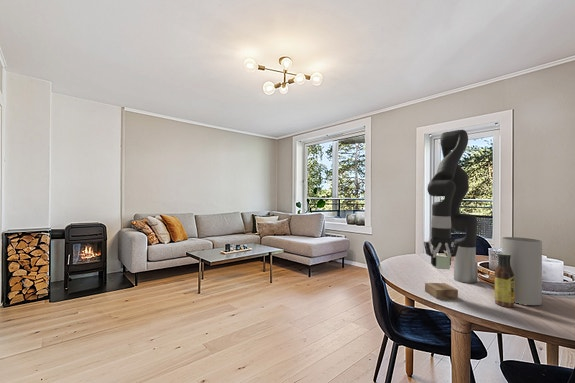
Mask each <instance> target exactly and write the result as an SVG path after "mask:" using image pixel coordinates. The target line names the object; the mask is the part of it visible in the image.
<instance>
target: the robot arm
mask: <svg viewBox="0 0 575 383" xmlns="http://www.w3.org/2000/svg"><path fill="white" fill-rule="evenodd" d="M439 138H440V147H441V153H442V160H440V162H439V164H438V166H437V167H438V168H437V170H436V173H435V174H434V176H433V177H432V178H431V179H430V180H429V182H428V184H427V188H426V189H427V193H428V194H429V195H430V196H431V197H441V198H442V197H444V198H443V200H441V201H435V202H433V203H432V205H431V221H430V223H431V224H430V226H431V228H430V232H431V233H430V237H431V238H430V240H429V241H423V245H424V250H425V254H426V255H427V256H429V257H430V264H431V266H432V265H433V266H436V258H435V257H436V255H438V253H439V251H443V252H444V255H445V256H448V257H450V266H451V265H452V258H453V279H454V281H457V282H461V283H465V284H466V283H469V284H474V283H478V280H479V279H478V278H479V276H478V272H479V271H478V269H479V266H478V262H477V260H476V258H477V257H476V253H477V252H476V251H477V250H476V248H477V246H476V245H477V234H478V233H477V232H478V219H477V216H475V214H470V213H469V214H468V213H467V214H466V213H461V212H460V211H461V210H460V208H461V207H460V206H461V203H462V202H463V200H464V199H465V197H466V196H467V194H468V192H469V189H470V183H469V176H468V174H467V172H466V170H464V169H463V167H461V165H459V162H460V160H461V158H462V156H463V155H464V153H465V151H466V149H467V147H468V143H469V135H468V133H467V130H465V129H457V130H451V131H445V132H441V135H440V137H439ZM452 231H454V232H457V233H464V234H465V236H464V237H461V238H456V239H454V240H453V241H452V239H451V238H452ZM431 245H432V248H431ZM450 247H451V249H450ZM433 266H432V267H433Z"/></svg>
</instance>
